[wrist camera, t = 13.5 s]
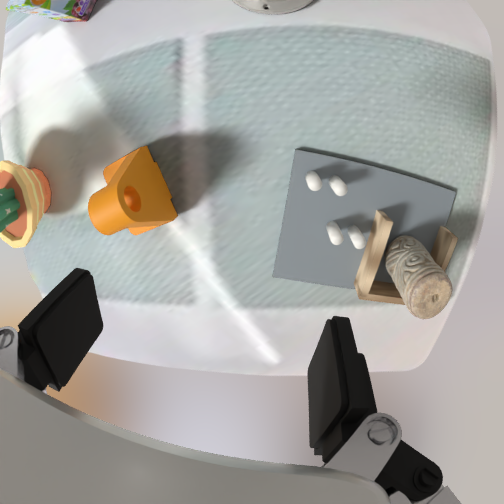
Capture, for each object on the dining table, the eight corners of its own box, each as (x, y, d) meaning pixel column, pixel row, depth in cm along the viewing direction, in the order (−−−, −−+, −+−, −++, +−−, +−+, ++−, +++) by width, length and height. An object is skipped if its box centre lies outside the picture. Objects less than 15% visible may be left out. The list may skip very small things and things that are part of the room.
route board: (295, 149, 34) (297, 153, 29) (452, 190, 33) (470, 200, 28) (272, 273, 42) (271, 292, 37) (414, 294, 41) (425, 312, 37)
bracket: (111, 166, 37) (58, 188, 26) (149, 144, 35) (100, 159, 24) (140, 229, 41) (99, 268, 30) (179, 213, 39) (143, 252, 28)
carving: (407, 220, 35) (447, 261, 24) (426, 259, 37) (462, 305, 26) (371, 245, 37) (399, 294, 26) (392, 281, 39) (420, 334, 29)
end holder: (376, 209, 35) (386, 220, 31) (445, 227, 34) (458, 238, 31) (353, 283, 40) (359, 299, 36) (419, 292, 40) (428, 307, 36)
